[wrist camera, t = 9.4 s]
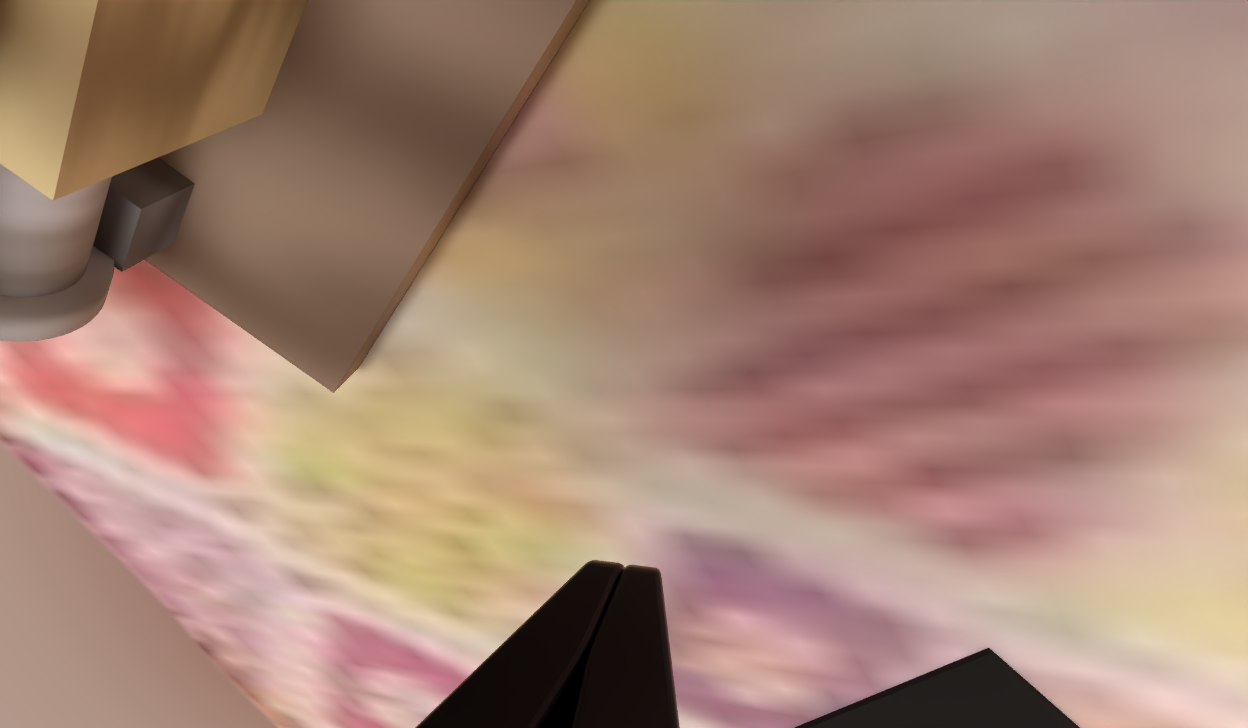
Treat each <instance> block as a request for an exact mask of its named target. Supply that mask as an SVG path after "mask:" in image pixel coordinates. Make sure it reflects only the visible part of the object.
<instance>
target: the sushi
mask: <svg viewBox="0 0 1248 728" xmlns="http://www.w3.org/2000/svg"><path fill="white" fill-rule="evenodd" d="M795 728H1079V727H1078V726H1077V725H1076V724H1075V723H1074V722H1073V721H1071V720H1070V719H1069V718H1068V717H1067V716H1066V715H1065V714H1063V713H1062V712H1061V711H1060V710H1059V709H1058V708H1057V707H1056V706H1054V705H1053V704H1052V703H1051V702H1050V701H1049V700H1048V699H1046V698H1045V697H1044V696H1043V695H1042V694H1041V693H1040V692H1038V691H1037V690H1036V689H1035V688H1034V687H1033V686H1032V685H1031V684H1029V683H1028V682H1027V681H1026V680H1025V679H1024V678H1023V677H1021V676H1020V675H1019V674H1018V673H1017V672H1016V671H1015V670H1013V669H1012V668H1011V667H1010V666H1009V665H1008V664H1007V663H1006V662H1004V661H1003V660H1002V659H1001V658H1000V657H999V656H998V655H996V654H995V653H994V652H993V651H992V650H991V649H990V648H987V649H984V650H982V651H980V652H977V653H975V654H972V655H970V656H967V657H965V658H963V659H960V660H958V661H955V662H953V663H950V664H948V665H946V666H943V667H941V668H938V669H936V670H933V671H931V672H929V673H926V674H924V675H921V676H919V677H916V678H914V679H912V680H909V681H907V682H904V683H902V684H899V685H897V686H895V687H892V688H890V689H887V690H885V691H882V692H880V693H878V694H875V695H873V696H870V697H868V698H865V699H863V700H861V701H858V702H856V703H853V704H851V705H848V706H846V707H844V708H841V709H839V710H836V711H834V712H831V713H829V714H827V715H824V716H822V717H819V718H817V719H814V720H812V721H810V722H807V723H805V724H802V725H800V726H797V727H795Z"/></svg>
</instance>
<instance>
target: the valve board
mask: <svg viewBox="0 0 1248 728" xmlns="http://www.w3.org/2000/svg"><path fill="white" fill-rule="evenodd" d="M588 2H589V0H0V340H1V341H37V340H44V339H50V338H54V337H58V336H62V335H65V334H68V333H70V332H73V331H75V330H77V329H79V328H81V327H83V326H84V325H86V324H87V323H88V322H90V321H91V320H92V319H93V318H94V317H95V316H96V315H97V314H98V313H99V311H100V310H101V309H102V307H103V305H104V303H105V300H106V297H107V293H108V290H109V287H110V284H111V280H112V277H113V273H114V267H116V268H117V269H119V270H120V271H124V270H126V269H128V268H129V267H131V266H133V265H135V264H137V263H139V262H140V261H142V260H144V259H145V260H146V261H148V262H149V263H150V264H152V265H153V266H155V267H156V268H157V269H159V270H160V271H162V272H163V273H165V274H166V275H167V276H169V277H170V278H172V279H173V280H174V281H176V282H177V283H179V284H180V285H182V286H183V287H184V288H186V289H187V290H189V291H190V292H191V293H193V294H194V295H196V296H197V297H199V298H200V299H201V300H203V301H204V302H206V303H207V304H208V305H210V306H211V307H213V308H214V309H216V310H217V311H218V312H220V313H221V314H223V315H224V316H225V317H227V318H228V319H230V320H231V321H232V322H234V323H235V324H237V325H238V326H240V327H241V328H242V329H244V330H245V331H247V332H248V333H249V334H251V335H252V336H254V337H255V338H257V339H258V340H259V341H261V342H262V343H264V344H265V345H266V346H268V347H269V348H271V349H272V350H274V351H275V352H276V353H278V354H279V355H281V356H282V357H283V358H285V359H286V360H288V361H289V362H291V363H292V364H293V365H295V366H296V367H298V368H299V369H300V370H302V371H303V372H305V373H306V374H308V375H309V376H310V377H312V378H313V379H315V380H316V381H317V382H319V383H320V384H322V385H323V386H325V387H326V388H327V389H329V390H330V391H332V392H333V393H334V392H335V391H336V390H337V389H338V388H339V387H340V386H341V385H342V384H343V383H344V382H345V381H346V380H347V379H348V378H349V377H350V376H351V375H352V374H353V373H354V372H355V371H356V370H357V369H358V368H359V366H360V364H361V363H362V361H363V360H364V358H365V356H366V355H367V353H368V352H369V350H370V348H371V347H372V345H373V344H374V342H375V340H376V339H377V337H378V336H379V334H380V333H381V331H382V329H383V328H384V326H385V325H386V323H387V321H388V320H389V318H390V317H391V315H392V313H393V312H394V310H395V309H396V307H397V306H398V304H399V302H400V301H401V299H402V298H403V296H404V294H405V293H406V291H407V290H408V288H409V286H410V285H411V283H412V282H413V280H414V278H415V277H416V275H417V274H418V272H419V271H420V269H421V267H422V266H423V264H424V263H425V261H426V259H427V258H428V256H429V255H430V253H431V251H432V250H433V248H434V247H435V245H436V243H437V242H438V240H439V239H440V237H441V236H442V234H443V232H444V231H445V229H446V228H447V226H448V224H449V223H450V221H451V220H452V218H453V216H454V215H455V213H456V212H457V210H458V208H459V207H460V205H461V204H462V202H463V201H464V199H465V197H466V196H467V194H468V193H469V191H470V189H471V188H472V186H473V185H474V183H475V181H476V180H477V178H478V177H479V175H480V173H481V172H482V170H483V169H484V167H485V166H486V164H487V162H488V161H489V159H490V158H491V156H492V154H493V153H494V151H495V150H496V148H497V146H498V145H499V143H500V142H501V140H502V139H503V137H504V135H505V134H506V132H507V131H508V129H509V127H510V126H511V124H512V123H513V121H514V119H515V118H516V116H517V115H518V113H519V111H520V110H521V108H522V107H523V105H524V104H525V102H526V100H527V99H528V97H529V96H530V94H531V92H532V91H533V89H534V88H535V86H536V84H537V83H538V81H539V80H540V78H541V76H542V75H543V73H544V72H545V70H546V69H547V67H548V65H549V64H550V62H551V61H552V59H553V57H554V56H555V54H556V53H557V51H558V49H559V48H560V46H561V45H562V43H563V41H564V40H565V38H566V37H567V35H568V34H569V32H570V30H571V29H572V27H573V26H574V24H575V22H576V21H577V19H578V18H579V16H580V14H581V13H582V11H583V10H584V8H585V7H586V5H587V3H588Z"/></svg>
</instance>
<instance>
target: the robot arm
mask: <svg viewBox="0 0 1248 728" xmlns="http://www.w3.org/2000/svg"><path fill="white" fill-rule="evenodd" d="M416 728H680V727H679V719H678V711H677V702H676V694H675V686H674V677H673V669H672V661H671V652H670V644H669V636H668V627H667V619H666V611H665V602H664V594H663V586H662V578H661V572H660V571H659V569H657V568H653V567H646V566H638V565H628V566H626V567H624V566H623V565H622V564H620V563H615V562H607V561H599V560H592V561H589V562H587V563H586V564H585V565H584V566H583V567H582V568H581V569H580V570H579V571H578V572H576V573H575V574H574V575H573V576H572V577H571V578H570V579H569V580H568V581H567V582H566V583H565V584H564V585H563V586H562V587H561V588H560V589H559V590H558V591H557V592H556V593H555V594H554V595H553V596H552V597H551V598H550V599H548V600H547V601H546V602H545V603H544V604H543V605H542V606H541V607H540V608H539V609H538V610H537V611H536V612H535V613H534V614H533V615H532V616H531V617H530V618H529V619H528V620H527V621H526V622H525V623H524V624H523V625H522V626H520V627H519V628H518V629H517V630H516V631H515V632H514V633H513V634H512V635H511V636H510V637H509V638H508V639H507V640H506V641H505V642H504V643H503V644H502V645H501V646H500V647H499V648H498V649H497V650H496V651H495V652H493V653H492V654H491V655H490V656H489V657H488V658H487V659H486V660H485V661H484V662H483V663H482V664H481V665H480V666H479V667H478V668H477V669H476V670H475V671H474V672H473V673H472V674H471V675H470V676H469V677H468V678H467V679H465V680H464V681H463V682H462V683H461V684H460V685H459V686H458V687H457V688H456V689H455V690H454V691H453V692H452V693H451V694H450V695H449V696H448V697H447V698H446V699H445V700H444V701H443V702H442V703H441V704H440V705H439V706H437V707H436V708H435V709H434V710H433V711H432V712H431V713H430V714H429V715H428V716H427V717H426V718H425V719H424V720H423V721H422V722H421V723H420V724H419V725H418V726H417V727H416Z"/></svg>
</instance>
